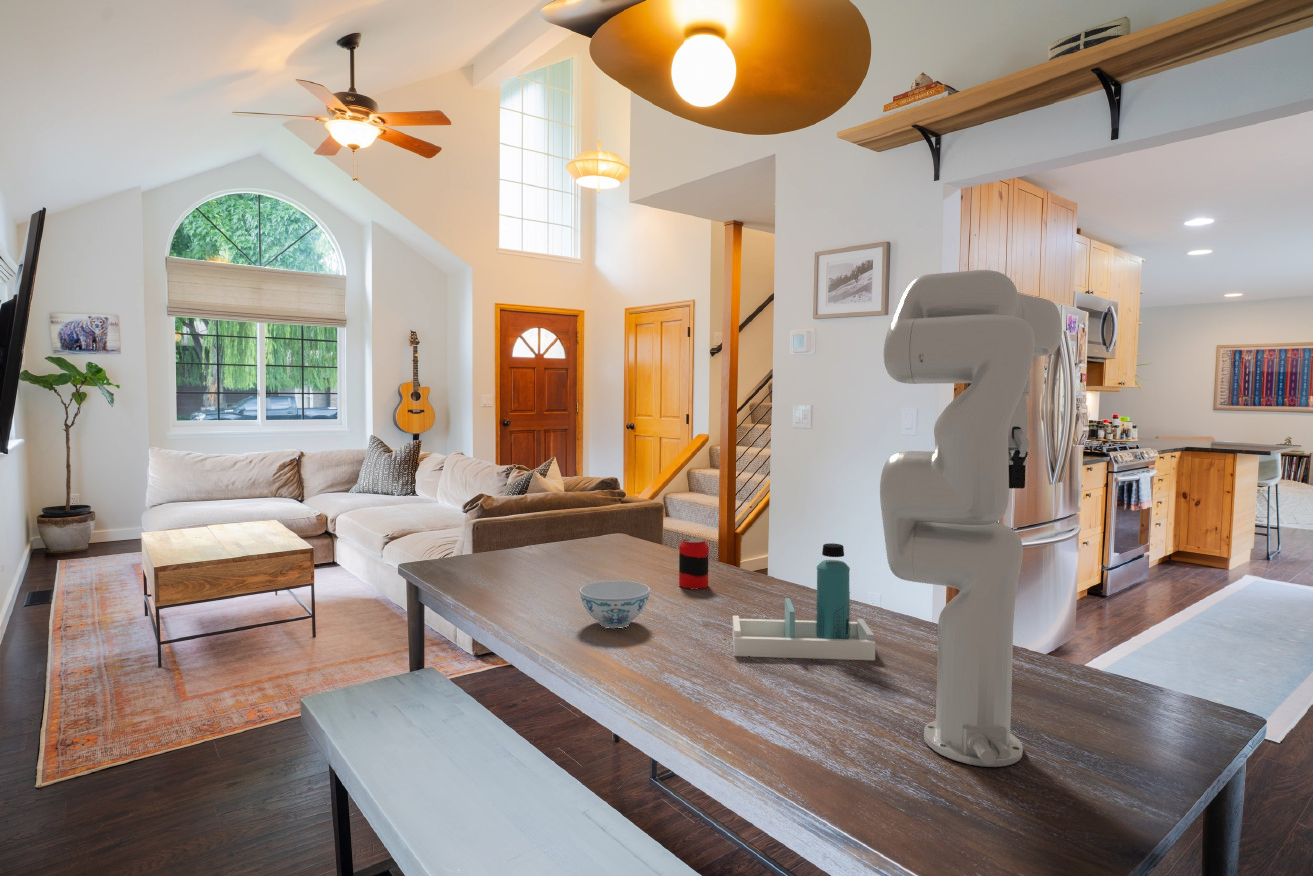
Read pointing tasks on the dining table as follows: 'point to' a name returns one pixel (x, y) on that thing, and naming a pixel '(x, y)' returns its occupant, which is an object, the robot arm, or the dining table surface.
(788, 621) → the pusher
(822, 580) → the beverage bottle
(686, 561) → the soda can
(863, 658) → the white divided tray
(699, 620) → the dining table surface
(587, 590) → the chinaware
